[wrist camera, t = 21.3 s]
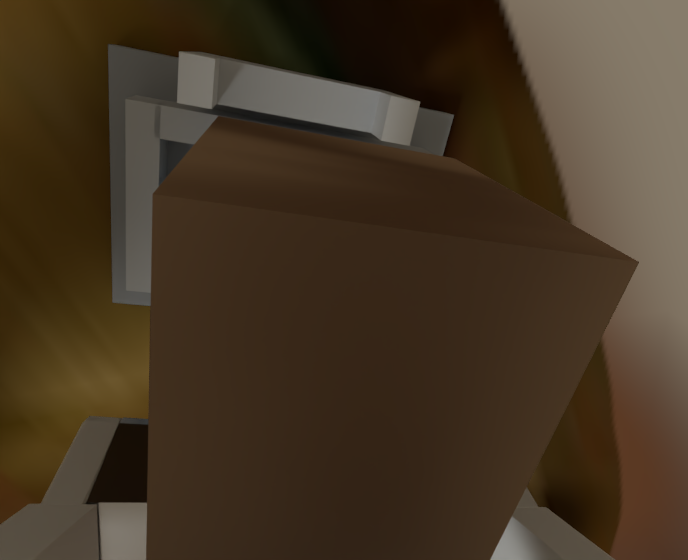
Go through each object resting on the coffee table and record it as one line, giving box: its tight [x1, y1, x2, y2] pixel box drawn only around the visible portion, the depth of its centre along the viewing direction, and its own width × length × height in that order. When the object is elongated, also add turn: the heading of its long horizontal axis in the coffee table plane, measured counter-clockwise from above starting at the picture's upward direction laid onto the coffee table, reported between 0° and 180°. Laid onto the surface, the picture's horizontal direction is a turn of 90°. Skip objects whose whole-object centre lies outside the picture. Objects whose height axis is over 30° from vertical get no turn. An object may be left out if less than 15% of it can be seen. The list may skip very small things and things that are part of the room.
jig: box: [108, 44, 454, 306], centre depth 19 cm, size 14×12×6 cm
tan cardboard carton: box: [146, 116, 639, 560], centre depth 8 cm, size 4×10×4 cm, turn 169°
